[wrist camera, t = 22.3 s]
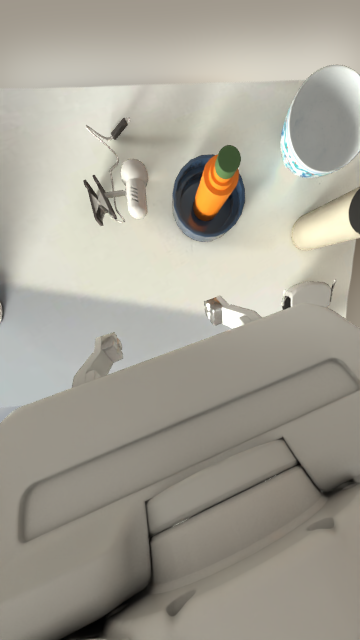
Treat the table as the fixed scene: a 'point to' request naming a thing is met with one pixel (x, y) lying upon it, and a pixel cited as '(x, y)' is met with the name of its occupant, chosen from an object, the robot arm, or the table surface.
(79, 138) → the table surface
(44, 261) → the table surface
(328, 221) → the travel mug
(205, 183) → the juice bottle
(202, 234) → the bowl
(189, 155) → the table surface
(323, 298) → the robot toy
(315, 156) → the chinaware
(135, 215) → the clip-on lamp
